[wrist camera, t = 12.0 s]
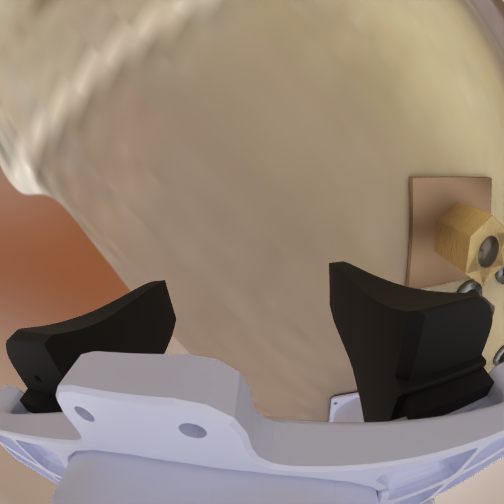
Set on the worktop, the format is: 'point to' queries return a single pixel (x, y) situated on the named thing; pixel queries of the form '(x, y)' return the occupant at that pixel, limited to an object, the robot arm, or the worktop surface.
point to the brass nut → (470, 241)
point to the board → (424, 224)
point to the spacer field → (473, 286)
